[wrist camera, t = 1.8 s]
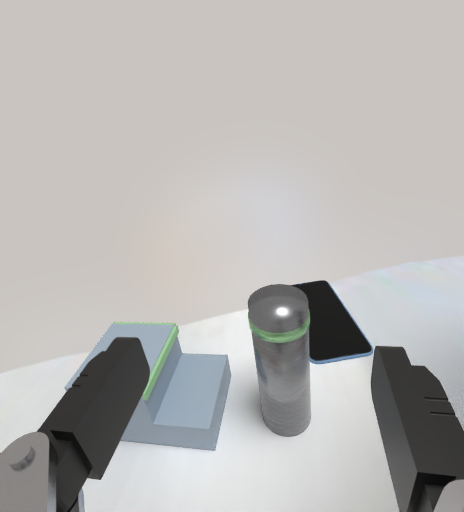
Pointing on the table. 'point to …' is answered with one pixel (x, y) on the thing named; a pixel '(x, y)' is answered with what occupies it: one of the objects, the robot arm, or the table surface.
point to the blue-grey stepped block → (172, 388)
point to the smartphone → (331, 326)
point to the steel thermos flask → (282, 356)
